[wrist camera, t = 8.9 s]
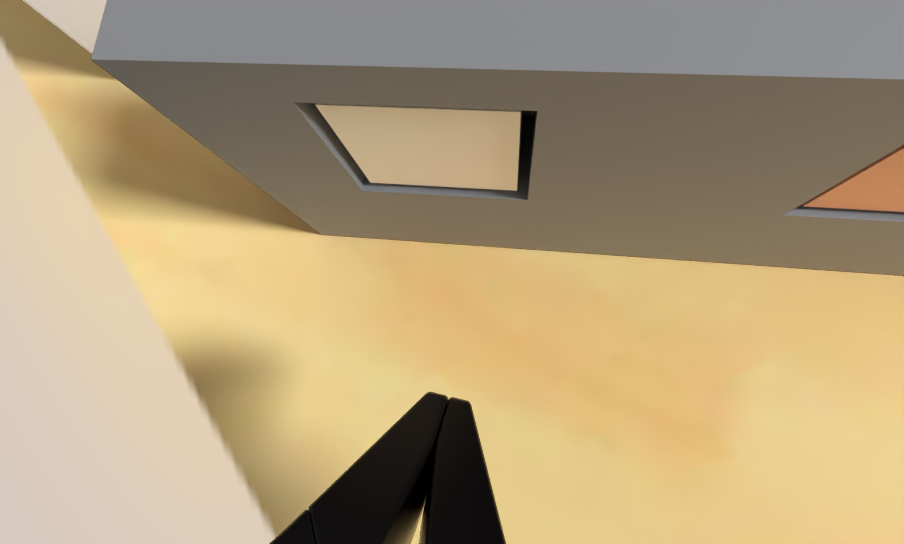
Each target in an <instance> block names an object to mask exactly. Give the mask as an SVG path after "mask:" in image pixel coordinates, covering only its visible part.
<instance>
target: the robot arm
mask: <svg viewBox="0 0 904 544" xmlns="http://www.w3.org/2000/svg"><path fill="white" fill-rule="evenodd" d="M424 504H425V505H424ZM423 507H424V511H423ZM422 511H423V517H422V523H421V531H420V539H419V544H506V542H505V538H504V534H503V530H502V526H501V522H500V518H499V514H498V510H497V506H496V502H495V498H494V494H493V490H492V486H491V482H490V478H489V474H488V470H487V466H486V462H485V458H484V454H483V450H482V446H481V442H480V438H479V434H478V430H477V426H476V422H475V418H474V414H473V410H472V406H471V404H470V402H469V401H466V400H462V399H458V398H454V397H451V398H450V399H449V400H448V397H447V396H446V395H442V394H437V393H433V392H428V393H426V394H425V395H424V396H423V397H422V398H421V399H420V400H419V401H418V402H417V403H416V404H415V405H414V406H413V407H412V408H411V409H410V410H409V411H408V412H407V413H406V414H404V415H403V416H402V417H401V418H400V419H399V420H398V421H397V422H396V423H395V424H394V425H393V426H392V427H391V428H390V429H389V430H388V431H387V432H386V433H385V434H384V435H383V436H382V437H381V438H380V439H379V440H378V441H377V442H375V443H374V444H373V445H372V446H371V447H370V448H369V449H368V450H367V451H366V452H365V453H364V454H363V455H362V456H361V457H360V458H359V459H358V460H357V461H356V462H355V463H354V464H353V465H352V466H351V467H350V468H349V469H348V470H346V471H345V472H344V473H343V474H342V475H341V476H340V477H339V478H338V479H337V480H336V481H335V482H334V483H333V484H332V485H331V486H330V487H329V488H328V489H327V490H326V491H325V492H324V493H323V494H322V495H321V496H320V497H319V498H317V499H316V500H315V501H314V502H313V503H312V504H311V505H310V506H309V511H308V510H305V511H304V512H303V513H302V514H301V515H300V516H299V517H298V518H297V519H295V520H294V521H293V522H292V523H291V524H290V525H289V526H288V527H287V528H286V529H285V530H284V531H283V532H282V533H281V534H279V535H278V536H277V537H276V538H275V539H274V540H273V541H272V542H271V543H270V544H410V543H411V541H412V538H413V535H414V533H415V530H416V528H417V525H418V522H419V519H420V517H421V514H422Z"/></svg>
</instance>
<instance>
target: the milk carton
mask: <svg viewBox="0 0 904 544" xmlns="http://www.w3.org/2000/svg"><path fill="white" fill-rule="evenodd" d="M22 1H24V2H25V3H26V4H28V5H29V6H30V7H32V8H33V9H34V10H35V11H37V12H38V13H39V14H41V15H42V16H43V17H44V18H46V19H47V20H48V21H50V22H51V23H52V24H54V25H55V26H56V27H57V28H59V29H60V30H61V31H63V32H64V33H65V34H66V35H68V36H69V37H70V38H72V39H73V40H74V41H75V42H77V43H78V44H79V45H81V46H82V47H83V48H85V49H86V50H87V51H88V52H90V53H91V54H92V53H93V49H94V46H95V42H96V38H97V35H98V31H99V27H100V23H101V20H102V16H103V12H104V9H105V5H106V1H107V0H22Z"/></svg>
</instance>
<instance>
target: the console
mask: <svg viewBox="0 0 904 544" xmlns="http://www.w3.org/2000/svg"><path fill="white" fill-rule="evenodd" d="M91 60H92V61H93V62H95V63H96V64H97V65H99V66H100V67H101V68H103V69H104V70H105V71H107V72H108V73H109V74H111V75H112V76H113V77H115V78H116V79H117V80H118V81H120V82H121V83H122V84H124V85H125V86H126V87H128V88H129V89H130V90H132V91H133V92H134V93H136V94H137V95H138V96H140V97H141V98H142V99H143V100H145V101H146V102H147V103H149V104H150V105H151V106H153V107H154V108H155V109H157V110H158V111H159V112H161V113H162V114H163V115H165V116H166V117H167V118H169V119H170V120H171V121H172V122H174V123H175V124H176V125H178V126H179V127H180V128H182V129H183V130H184V131H186V132H187V133H188V134H190V135H191V136H192V137H194V138H195V139H196V140H197V141H199V142H200V143H201V144H203V145H204V146H205V147H207V148H208V149H209V150H211V151H212V152H213V153H215V154H216V155H217V156H219V157H220V158H221V159H222V160H224V161H225V162H226V163H228V164H229V165H230V166H232V167H233V168H234V169H236V170H237V171H238V172H240V173H241V174H242V175H244V176H245V177H246V178H247V179H249V180H250V181H251V182H253V183H254V184H255V185H257V186H258V187H259V188H261V189H262V190H263V191H265V192H266V193H267V194H269V195H270V196H271V197H272V198H274V199H275V200H276V201H278V202H279V203H280V204H282V205H283V206H284V207H286V208H287V209H288V210H290V211H291V212H292V213H294V214H295V215H296V216H297V217H299V218H300V219H301V220H303V221H304V222H305V223H307V224H308V225H309V226H311V227H312V228H313V229H315V230H316V231H317V232H319V233H320V234H321V235H334V236H348V237H362V238H376V239H391V240H405V241H419V242H433V243H447V244H462V245H476V246H490V247H504V248H518V249H533V250H547V251H561V252H575V253H589V254H604V255H618V256H632V257H646V258H660V259H675V260H689V261H703V262H717V263H731V264H746V265H760V266H774V267H788V268H802V269H817V270H831V271H845V272H859V273H873V274H888V275H902V276H904V212H895V211H877V210H859V209H841V208H823V207H805V206H803V203H805V202H807V201H808V200H810V199H812V198H814V197H815V196H817V195H819V194H820V193H822V192H824V191H825V190H827V189H829V188H831V187H832V186H834V185H836V184H837V183H839V182H841V181H843V180H844V179H846V178H848V177H849V176H851V175H853V174H855V173H856V172H858V171H860V170H861V169H863V168H865V167H867V166H868V165H870V164H872V163H873V162H875V161H877V160H878V159H880V158H882V157H884V156H885V155H887V154H889V153H890V152H892V151H894V150H896V149H897V148H899V147H901V146H902V145H904V0H107V1H106V5H105V9H104V12H103V16H102V20H101V23H100V27H99V31H98V35H97V38H96V42H95V46H94V49H93V53H92V57H91ZM315 103H324V104H353V105H382V106H410V107H439V108H467V109H496V110H523V119H522V134H521V147H520V159H519V172H518V184H517V191H512V190H494V189H476V188H458V187H440V186H423V185H405V184H387V183H370V181H369V180H368V179H367V177H366V176H365V174H364V173H363V171H362V170H361V169H360V167H359V166H358V164H357V163H356V162H355V160H354V159H353V157H352V156H351V155H350V153H349V152H348V150H347V149H346V147H345V146H344V145H343V143H342V142H341V140H340V139H339V138H338V136H337V135H336V133H335V132H334V131H333V129H332V128H331V126H330V125H329V124H328V122H327V121H326V119H325V118H324V116H323V115H322V114H321V112H320V111H319V109H318V108H317V107H316V105H315Z"/></svg>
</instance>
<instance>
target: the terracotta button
mask: <svg viewBox="0 0 904 544" xmlns="http://www.w3.org/2000/svg"><path fill="white" fill-rule="evenodd" d="M803 206H805V207H823V208H841V209H859V210H877V211H895V212H904V145H902V146H901V147H899V148H897V149H896V150H894V151H892V152H890V153H889V154H887V155H885V156H884V157H882V158H880V159H878V160H877V161H875V162H873V163H872V164H870V165H868V166H867V167H865V168H863V169H861V170H860V171H858V172H856V173H855V174H853V175H851V176H849V177H848V178H846V179H844V180H843V181H841V182H839V183H837V184H836V185H834V186H832V187H831V188H829V189H827V190H825V191H824V192H822V193H820V194H819V195H817V196H815V197H814V198H812V199H810V200H808V201H807V202H805V203H803Z"/></svg>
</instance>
